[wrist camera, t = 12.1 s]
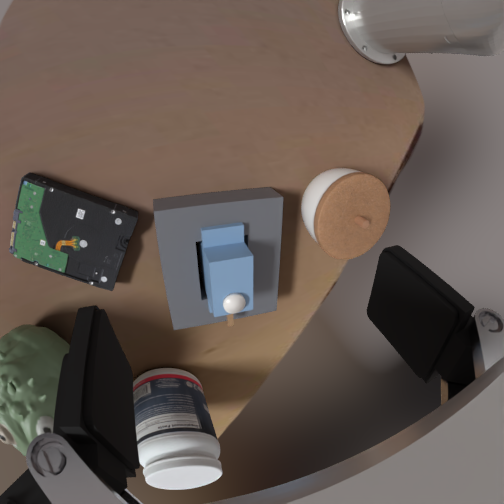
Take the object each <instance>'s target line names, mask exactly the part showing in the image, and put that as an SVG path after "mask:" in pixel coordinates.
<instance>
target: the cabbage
mask: <svg viewBox="0 0 504 504" xmlns="http://www.w3.org/2000/svg"><path fill="white" fill-rule="evenodd" d="M69 349H70V345H69V344H68V343H67V342H66V341H65V340H64V339H62V338H61V337H59V336H58V335H57V334H56V333H55V332H53V331H52V330H50V329H48V328H46V327H36V326H34V325H21V326H19V327H17V328H15V329H13V330H11V331H10V332H9V333H7V334H5V335H4V336H3V337H2V338H1V339H0V440H1V441H2V442H4V443H6V444H12V445H13V446H14V447H15V448H17V449H18V450H19V451H21V453H22V454H23V455H24V456H26V454H27V449H28V447H29V445H30V443H31V442H32V440H33V439H34V438H35V437H37V436H39V435H40V434H43V433H53V423H54V413H55V405H56V397H57V390H58V383H59V377H60V371H61V366H62V360H63V357H64V355H65V354H66V353H69Z"/></svg>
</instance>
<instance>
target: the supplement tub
mask: <svg viewBox="0 0 504 504" xmlns="http://www.w3.org/2000/svg"><path fill="white" fill-rule="evenodd" d="M133 395H134V412H135V425H136V435H137V445H138V454H139V462H140V464H141V465H142V466H143V467H144V470H143V474H144V475H145V480H146V482H147V483H148V484H149V485H151V486H153V487H156V488H161V489H171V490H179V489H190V488H196V487H200V486H203V485H207V484H209V483H212V482H214V481H215V480H217V479H218V478H220V477H221V475H222V469H221V463H220V461H218V460H217V459H218V457H219V455H220V445H219V443H218V440H217V437H216V433H215V430H214V427H213V424H212V420H211V417H210V414H209V410H208V407H207V403H206V400H205V396H204V393H203V389H202V385H201V383H200V382H199V380H198V379H197V378H196V377H195V376H194V375H192V374H191V373H189V372H187V371H184V370H181V369H176V368H159V369H154V370H150V371H148V372H145V373H143V374H142V375H140V376H139V377H138V378H137V379H136V380H135V381H134V382H133Z"/></svg>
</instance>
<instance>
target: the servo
mask: <svg viewBox="0 0 504 504" xmlns="http://www.w3.org/2000/svg"><path fill="white" fill-rule="evenodd" d="M201 237H202V241H198V249H199V259H200V269H201V278H202V282H203V285H204V288H205V291H206V294H207V298H208V307H209V312H210V313H213V315H214V317H218V316H224V315H226V316H227V324H228V327H229V326H234V319H233V314H235V313H239V312H244V311H249V310H253V254H252V253H251V251H250V250H249V248H248V247H247V245H246V244H245V242H244V225H243V223H242V222H240V223H232V224H225V225H217V226H210V227H203V228H201Z"/></svg>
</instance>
